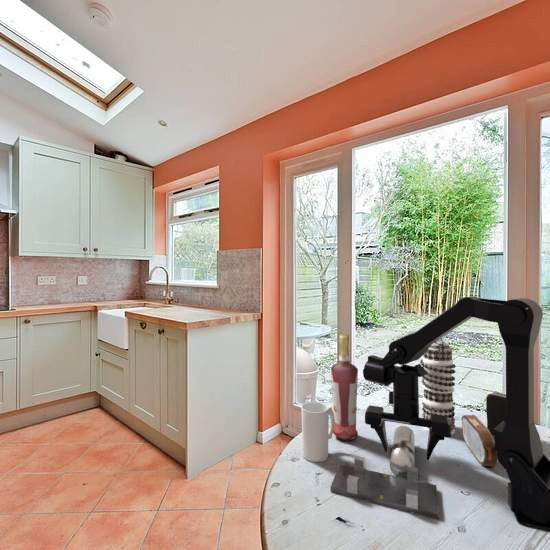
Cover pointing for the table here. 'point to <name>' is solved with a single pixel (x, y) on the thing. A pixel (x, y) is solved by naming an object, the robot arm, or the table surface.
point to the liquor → (344, 393)
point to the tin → (479, 440)
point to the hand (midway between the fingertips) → (406, 455)
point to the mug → (316, 430)
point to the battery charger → (495, 410)
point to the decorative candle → (438, 382)
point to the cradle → (387, 488)
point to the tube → (402, 451)
